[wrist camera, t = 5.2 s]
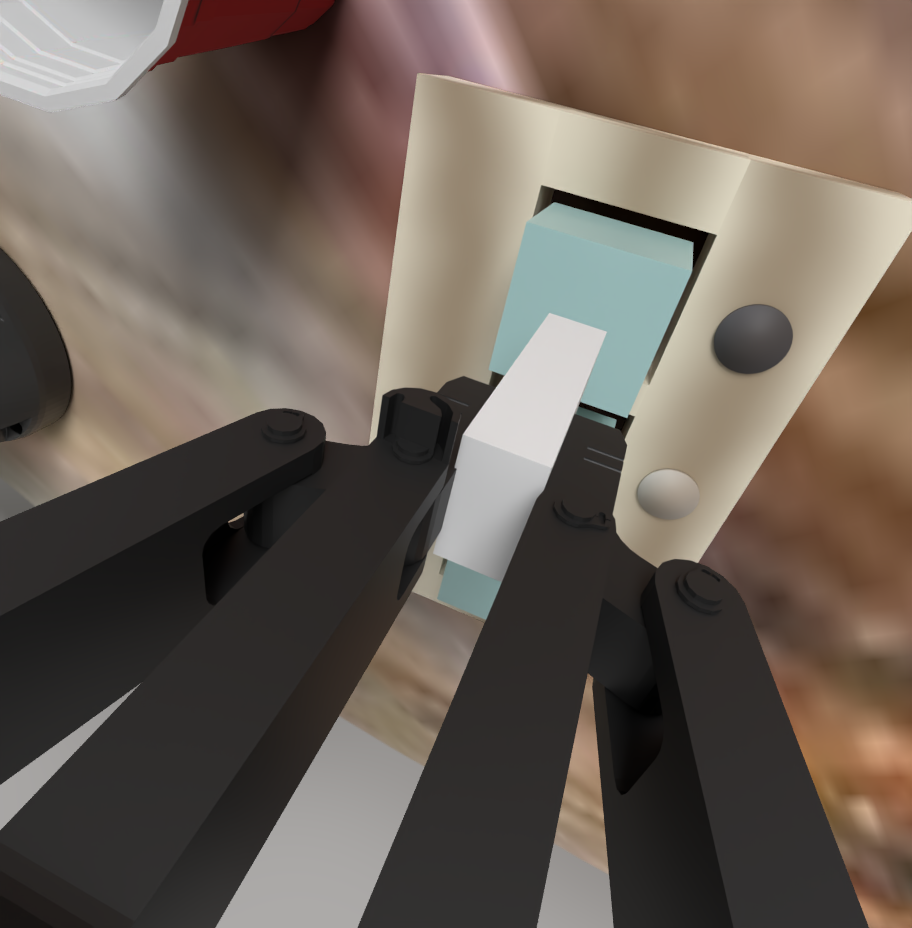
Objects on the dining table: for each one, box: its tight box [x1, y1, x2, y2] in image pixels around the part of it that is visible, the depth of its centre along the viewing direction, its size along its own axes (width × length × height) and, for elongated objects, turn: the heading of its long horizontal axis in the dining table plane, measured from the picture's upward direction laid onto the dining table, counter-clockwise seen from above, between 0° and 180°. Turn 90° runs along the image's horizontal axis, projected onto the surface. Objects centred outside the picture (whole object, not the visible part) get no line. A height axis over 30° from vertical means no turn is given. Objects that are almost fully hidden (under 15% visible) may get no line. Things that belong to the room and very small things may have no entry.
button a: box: [437, 560, 502, 620], centre depth 29 cm, size 5×5×4 cm
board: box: [369, 73, 912, 623], centre depth 26 cm, size 16×24×3 cm, turn 167°
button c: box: [488, 202, 693, 418], centre depth 19 cm, size 5×5×4 cm
